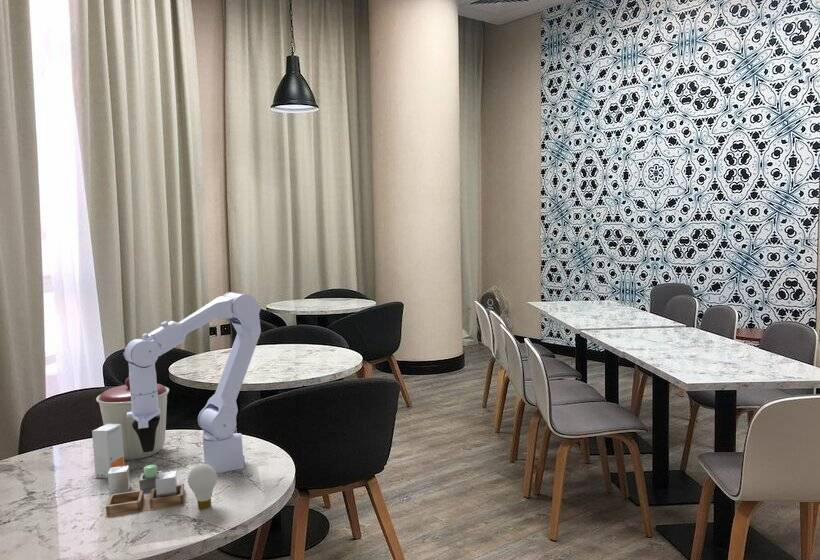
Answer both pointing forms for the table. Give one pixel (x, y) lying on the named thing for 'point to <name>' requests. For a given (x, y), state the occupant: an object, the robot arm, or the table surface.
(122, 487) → the billet
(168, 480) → the seated billet
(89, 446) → the table surface
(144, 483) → the button housing
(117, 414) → the canister
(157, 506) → the wooden divided tray
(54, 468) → the table surface
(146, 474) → the button
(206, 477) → the light bulb
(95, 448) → the skincare box
